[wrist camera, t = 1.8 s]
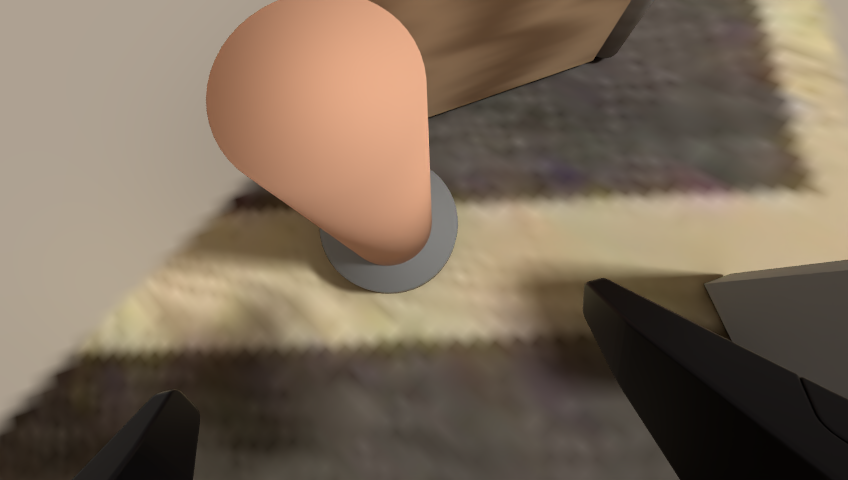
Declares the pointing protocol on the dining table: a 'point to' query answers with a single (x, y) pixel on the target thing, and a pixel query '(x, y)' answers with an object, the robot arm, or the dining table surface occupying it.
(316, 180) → the door stop
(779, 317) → the door frame
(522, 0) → the door
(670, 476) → the dining table surface
